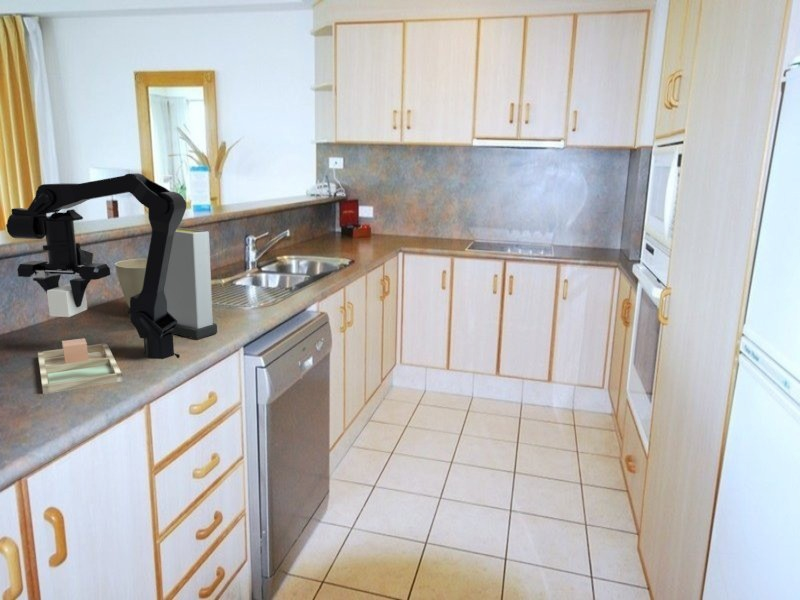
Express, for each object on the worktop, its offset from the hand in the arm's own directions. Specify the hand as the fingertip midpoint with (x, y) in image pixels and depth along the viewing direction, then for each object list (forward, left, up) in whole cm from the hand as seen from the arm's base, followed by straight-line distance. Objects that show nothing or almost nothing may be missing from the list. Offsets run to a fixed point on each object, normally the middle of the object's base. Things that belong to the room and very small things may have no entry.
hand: (68, 306), depth 130 cm
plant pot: (+16, -32, -12) cm, 38 cm away
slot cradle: (-13, +7, -12) cm, 18 cm away
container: (-8, -27, -12) cm, 31 cm away
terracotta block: (-8, +4, -11) cm, 14 cm away
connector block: (0, 0, -2) cm, 2 cm away
